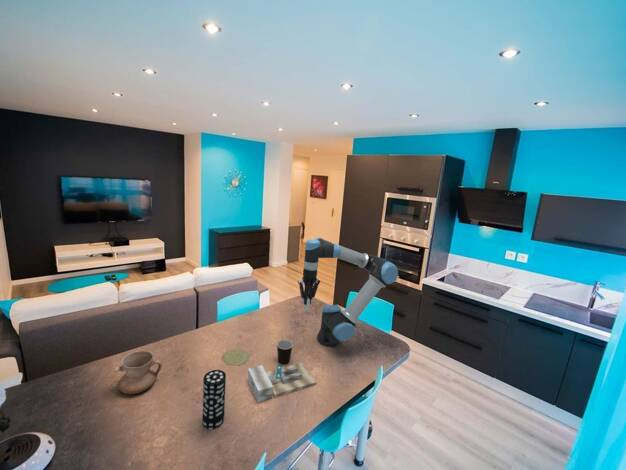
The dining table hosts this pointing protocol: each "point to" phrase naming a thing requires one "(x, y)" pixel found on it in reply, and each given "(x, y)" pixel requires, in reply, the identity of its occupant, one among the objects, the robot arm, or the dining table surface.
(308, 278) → the robot arm
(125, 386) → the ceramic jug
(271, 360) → the dining table surface
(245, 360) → the sand dollar
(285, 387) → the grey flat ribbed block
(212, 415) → the white-spotted black cylinder
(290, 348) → the coffee mug
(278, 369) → the bolt
